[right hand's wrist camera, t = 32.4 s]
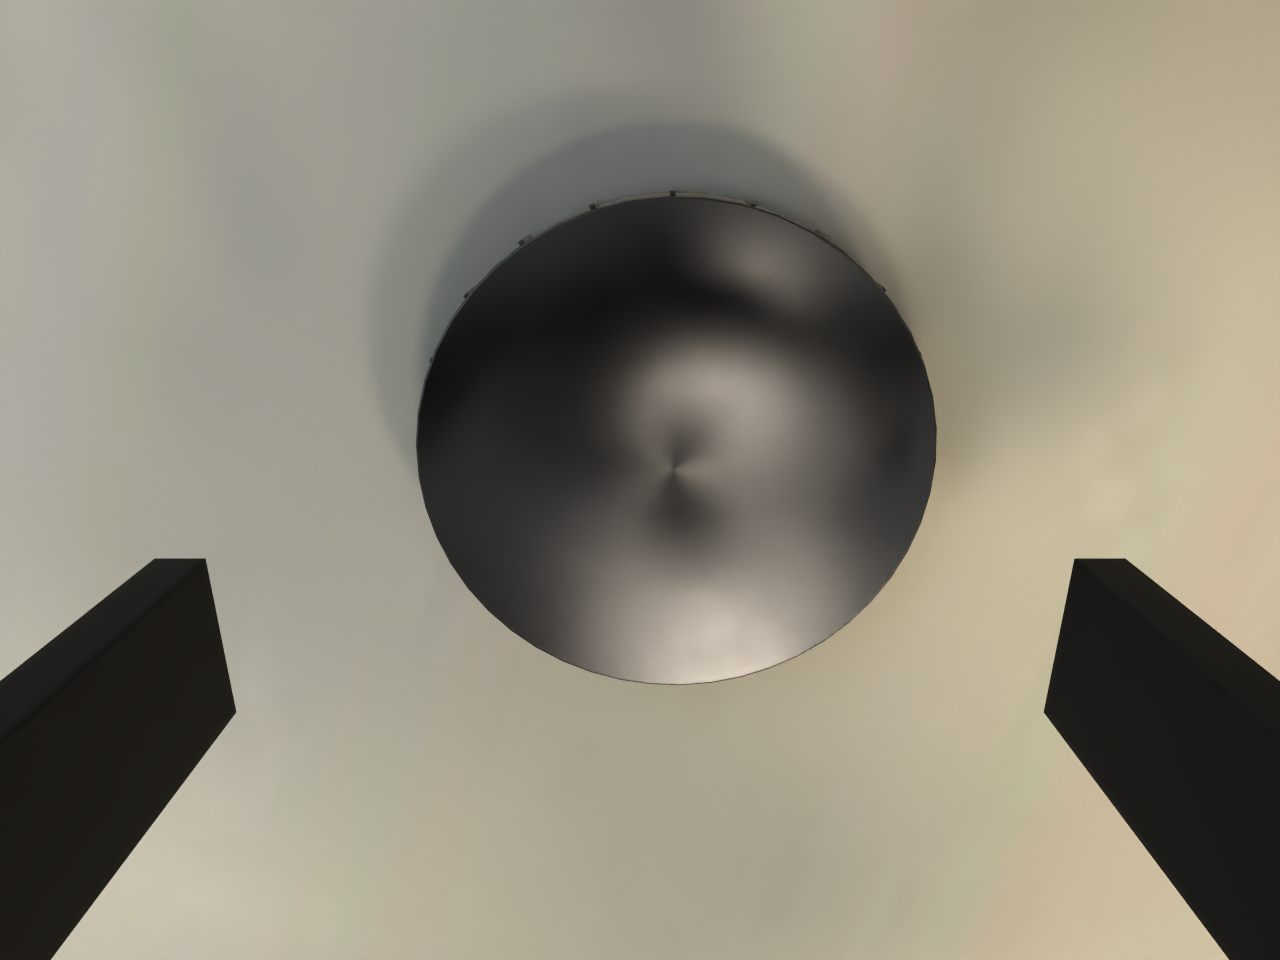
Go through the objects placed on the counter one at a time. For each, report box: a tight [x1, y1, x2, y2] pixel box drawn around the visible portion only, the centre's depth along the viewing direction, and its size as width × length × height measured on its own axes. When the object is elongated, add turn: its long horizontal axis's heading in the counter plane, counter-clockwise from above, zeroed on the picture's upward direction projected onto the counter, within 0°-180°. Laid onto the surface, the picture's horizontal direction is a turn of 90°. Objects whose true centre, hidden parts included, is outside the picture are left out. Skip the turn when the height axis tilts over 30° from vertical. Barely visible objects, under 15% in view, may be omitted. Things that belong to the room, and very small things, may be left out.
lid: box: [416, 188, 937, 685], centre depth 18 cm, size 11×11×2 cm
